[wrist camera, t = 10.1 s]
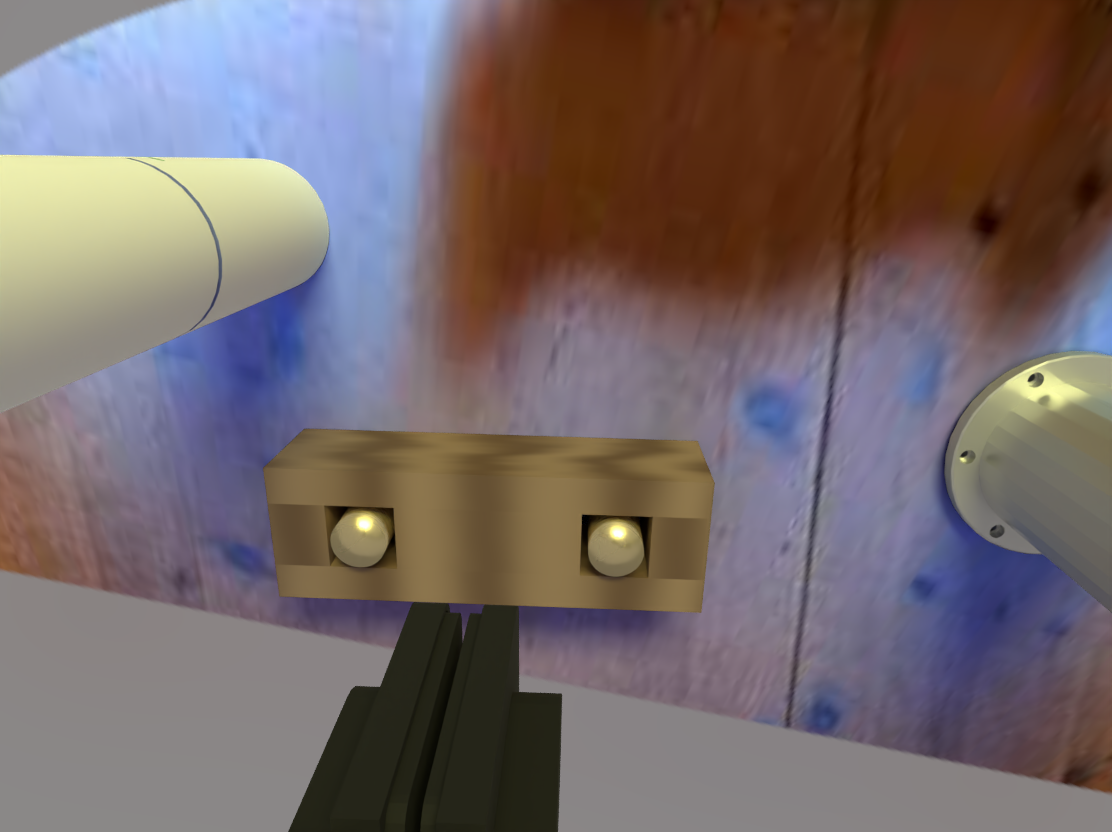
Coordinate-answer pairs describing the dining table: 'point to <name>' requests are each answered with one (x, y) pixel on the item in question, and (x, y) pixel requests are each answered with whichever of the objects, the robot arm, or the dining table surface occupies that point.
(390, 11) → the dining table surface
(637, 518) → the inner brass pin
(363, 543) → the outer brass pin
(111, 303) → the cylindrical container
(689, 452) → the tan peg holder block
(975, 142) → the dining table surface
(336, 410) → the dining table surface
